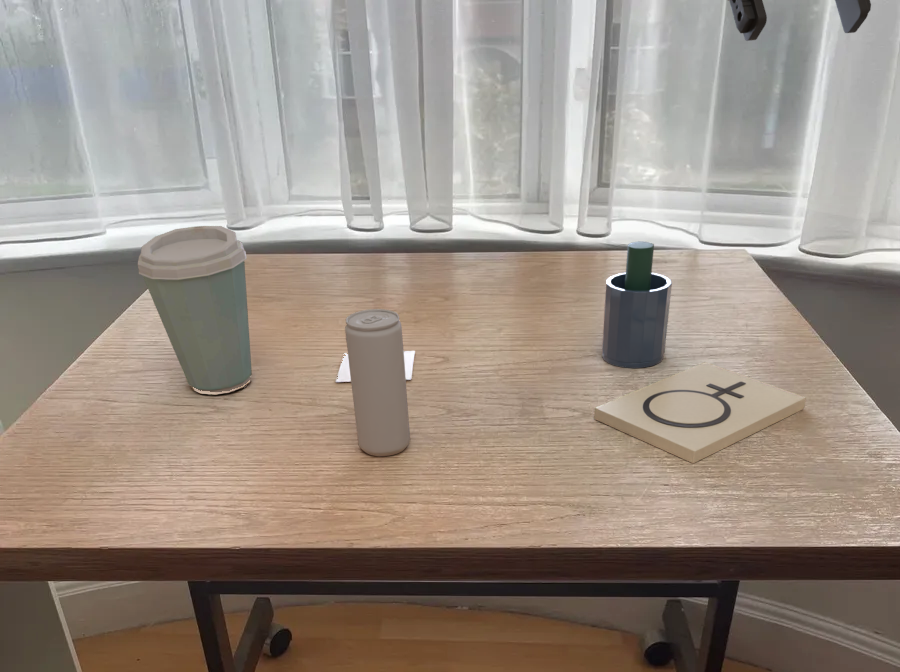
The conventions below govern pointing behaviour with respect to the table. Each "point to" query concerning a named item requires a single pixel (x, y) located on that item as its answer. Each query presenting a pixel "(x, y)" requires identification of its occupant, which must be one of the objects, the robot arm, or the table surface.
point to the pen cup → (635, 322)
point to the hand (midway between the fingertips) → (807, 28)
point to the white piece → (345, 370)
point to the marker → (639, 266)
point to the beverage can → (378, 381)
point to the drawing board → (699, 410)
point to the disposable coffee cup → (202, 302)
